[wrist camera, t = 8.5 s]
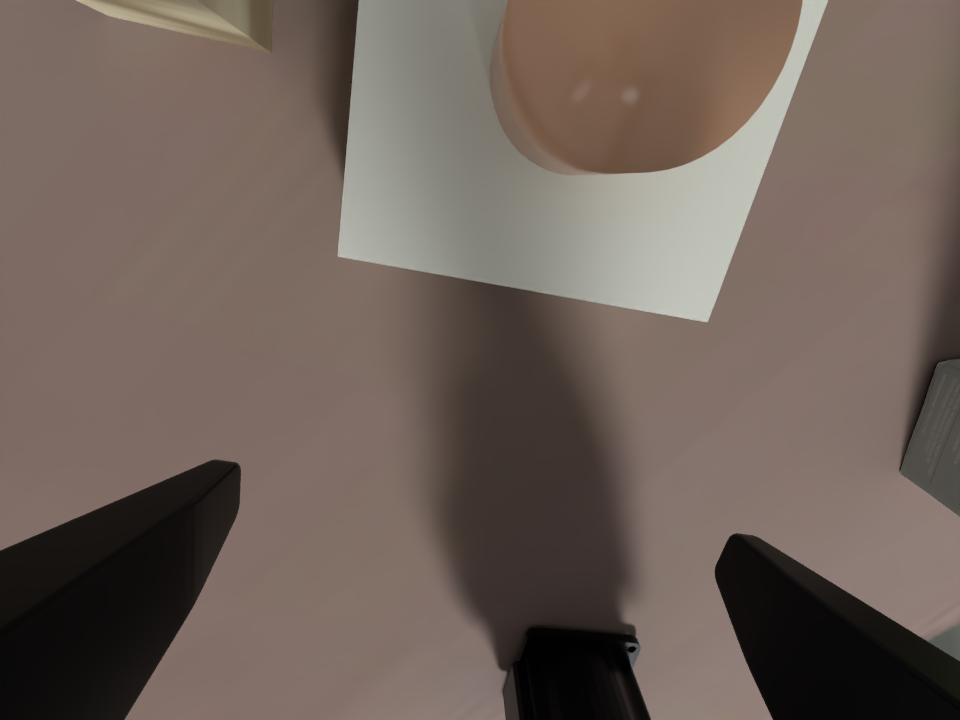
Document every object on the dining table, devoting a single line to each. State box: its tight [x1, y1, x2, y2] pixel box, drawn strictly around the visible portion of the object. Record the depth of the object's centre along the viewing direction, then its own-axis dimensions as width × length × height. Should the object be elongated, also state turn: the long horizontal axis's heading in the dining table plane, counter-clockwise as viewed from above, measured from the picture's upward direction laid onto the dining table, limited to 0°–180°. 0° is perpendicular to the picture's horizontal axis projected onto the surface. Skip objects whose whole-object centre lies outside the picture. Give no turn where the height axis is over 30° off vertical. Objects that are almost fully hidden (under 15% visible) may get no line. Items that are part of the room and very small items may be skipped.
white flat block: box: [338, 0, 828, 322], centre depth 14 cm, size 12×12×4 cm
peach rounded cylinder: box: [490, 0, 803, 175], centre depth 10 cm, size 5×5×5 cm
